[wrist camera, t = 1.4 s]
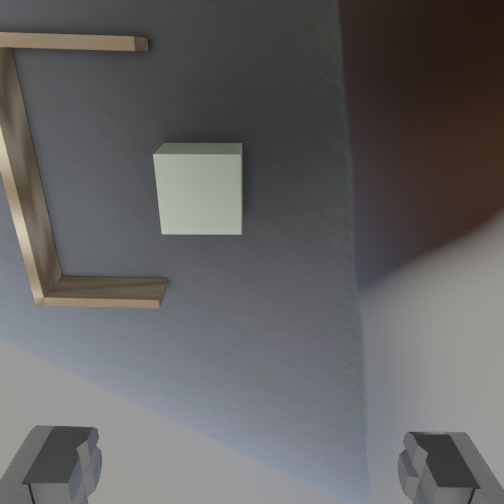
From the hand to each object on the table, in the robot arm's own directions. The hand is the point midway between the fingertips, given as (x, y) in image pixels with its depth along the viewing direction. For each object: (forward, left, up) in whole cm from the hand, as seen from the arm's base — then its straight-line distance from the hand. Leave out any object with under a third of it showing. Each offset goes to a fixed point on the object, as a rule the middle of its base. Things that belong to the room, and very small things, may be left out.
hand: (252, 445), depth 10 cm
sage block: (0, -4, -24) cm, 24 cm away
